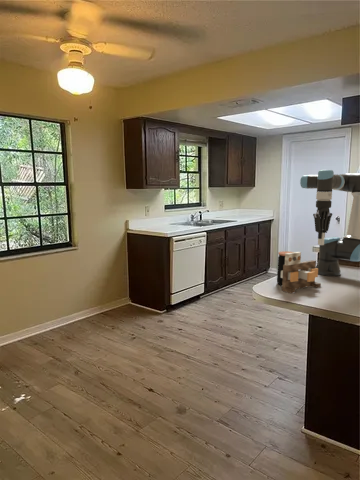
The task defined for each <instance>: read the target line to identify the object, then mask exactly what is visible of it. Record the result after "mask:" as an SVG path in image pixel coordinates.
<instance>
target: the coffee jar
mask: <svg viewBox="0 0 360 480" xmlns="http://www.w3.org/2000/svg"><path fill="white" fill-rule="evenodd" d="M293 252H294V251H284V250H283V251H279V252H278V254H277V255H278V257H277V273H276V274H277V275H276V282H277V283H278V285H279V286H282V281H283V278H281V271H282V270H283V265H285V253H293Z"/></svg>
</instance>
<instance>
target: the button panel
mask: <svg viewBox="0 0 360 480" xmlns="http://www.w3.org/2000/svg"><path fill="white" fill-rule="evenodd" d="M292 252H293V253H285V265H283V281H282V285H281V291H283V292H285V293H288V294H294V293H296V290H299V289H303V288H308V287H313V288H316V289H317V288H321V286H322V283H321V282H316V280H315V281H311V282H307V280H305V279H301V278H298V281H295V282H290V280H288V272H290V271H292V272H298V270H305V271H308V268H313V269H314V268H316V266H317V260H314V259H313V260H305V261H302V260H301V259H302V252H301V251H292Z"/></svg>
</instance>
